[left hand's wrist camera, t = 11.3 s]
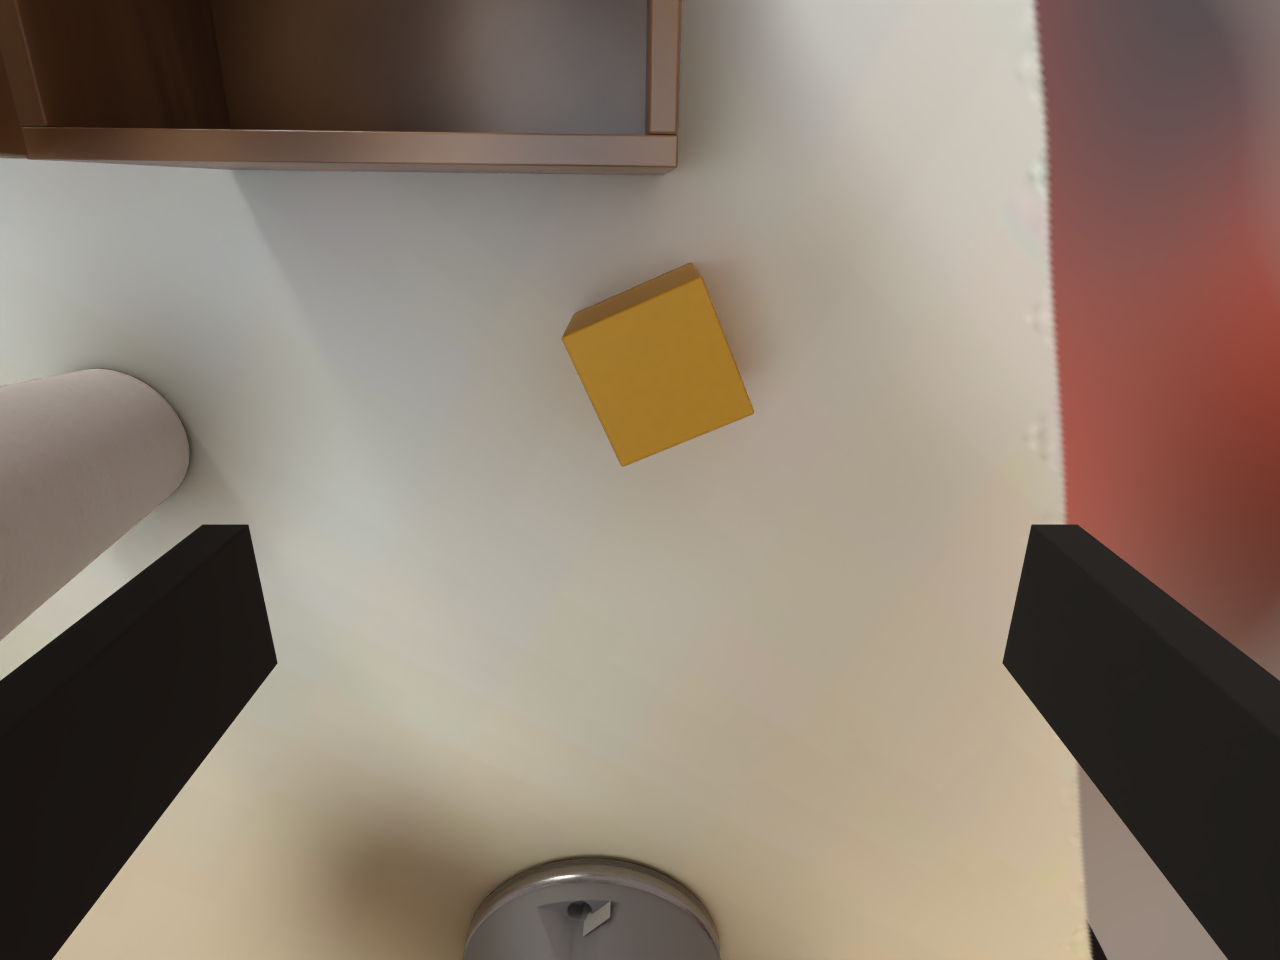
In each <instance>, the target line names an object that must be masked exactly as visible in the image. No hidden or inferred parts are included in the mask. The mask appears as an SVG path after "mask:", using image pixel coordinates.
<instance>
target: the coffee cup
mask: <svg viewBox="0 0 1280 960" xmlns="http://www.w3.org/2000/svg"><path fill="white" fill-rule="evenodd" d="M188 465H189V444H188V439H187V435H186V432H185V429H184V427H183V425H182V423H181V421H180V419H179V417H178V416H177V414H176V413H175V411H174V410H173V408H172V407H171V406H170V405H169V403H168V402H167V401H166V400H165V399H164V398H163V397H162V396H161V395H160V394H159V393H157V392H156V391H155V390H154V389H152V388H151V387H150V386H148V385H147V384H145V383H143V382H142V381H140V380H138V379H136V378H134V377H132V376H129V375H127V374H124V373H121V372H117V371H113V370H106V369H87V370H80V371H75V372H70V373H65V374H60V375H55V376H50V377H45V378H40V379H35V380H30V381H25V382H20V383H15V384H10V385H5V386H0V641H1V640H2V639H3V638H4V637H5V636H6V635H8V634H9V633H10V632H11V631H12V630H13V629H14V628H16V627H17V626H18V625H19V624H20V623H21V622H23V621H24V620H25V619H26V618H27V617H28V616H29V615H31V614H32V613H33V612H34V611H35V610H36V609H38V608H39V607H40V606H41V605H42V604H43V603H45V602H46V601H47V600H48V599H49V598H50V597H52V596H53V595H54V594H55V593H56V592H57V591H59V590H60V589H61V588H62V587H63V586H64V585H66V584H67V583H68V582H69V581H70V580H71V579H73V578H74V577H75V576H76V575H77V574H78V573H80V572H81V571H82V570H83V569H84V568H85V567H87V566H88V565H89V564H90V563H91V562H92V561H94V560H95V559H96V558H97V557H98V556H100V555H101V554H102V553H103V552H104V551H105V550H107V549H108V548H109V547H110V546H111V545H112V544H114V543H115V542H116V541H117V540H118V539H119V538H121V537H122V536H123V535H124V534H125V533H127V532H128V531H129V530H130V529H131V528H132V527H134V526H135V525H136V524H137V523H138V522H139V521H141V520H142V519H143V518H144V517H145V516H147V515H148V514H149V513H150V512H151V511H152V510H154V509H155V508H156V507H157V506H158V505H159V504H161V503H162V502H163V501H164V500H165V499H166V498H168V497H169V496H170V495H171V494H172V493H173V492H174V491H175V490H176V489H177V488H178V487H179V486H180V484H181V483H182V481H183V479H184V477H185V475H186V473H187V469H188Z"/></svg>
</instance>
